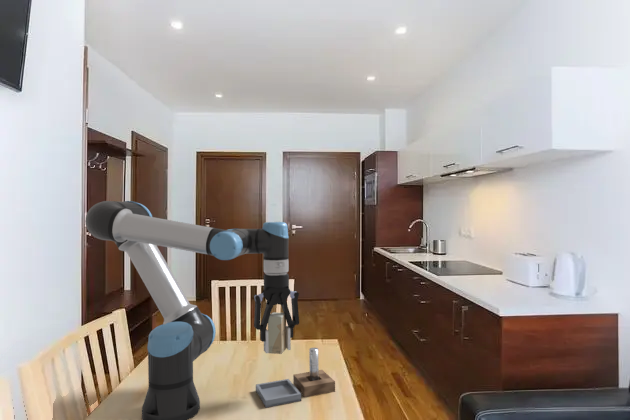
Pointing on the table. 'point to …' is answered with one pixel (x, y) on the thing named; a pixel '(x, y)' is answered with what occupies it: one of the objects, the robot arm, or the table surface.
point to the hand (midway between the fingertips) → (277, 350)
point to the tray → (278, 393)
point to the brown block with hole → (313, 384)
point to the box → (277, 333)
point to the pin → (313, 364)
